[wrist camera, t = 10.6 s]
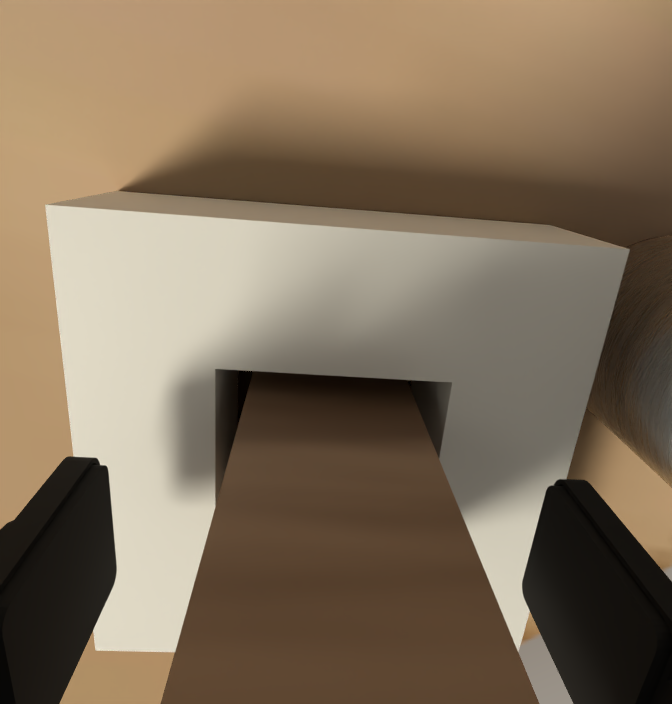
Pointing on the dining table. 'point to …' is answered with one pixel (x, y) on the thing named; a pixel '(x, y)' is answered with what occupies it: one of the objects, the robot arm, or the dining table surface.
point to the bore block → (315, 362)
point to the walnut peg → (340, 562)
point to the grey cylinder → (640, 358)
